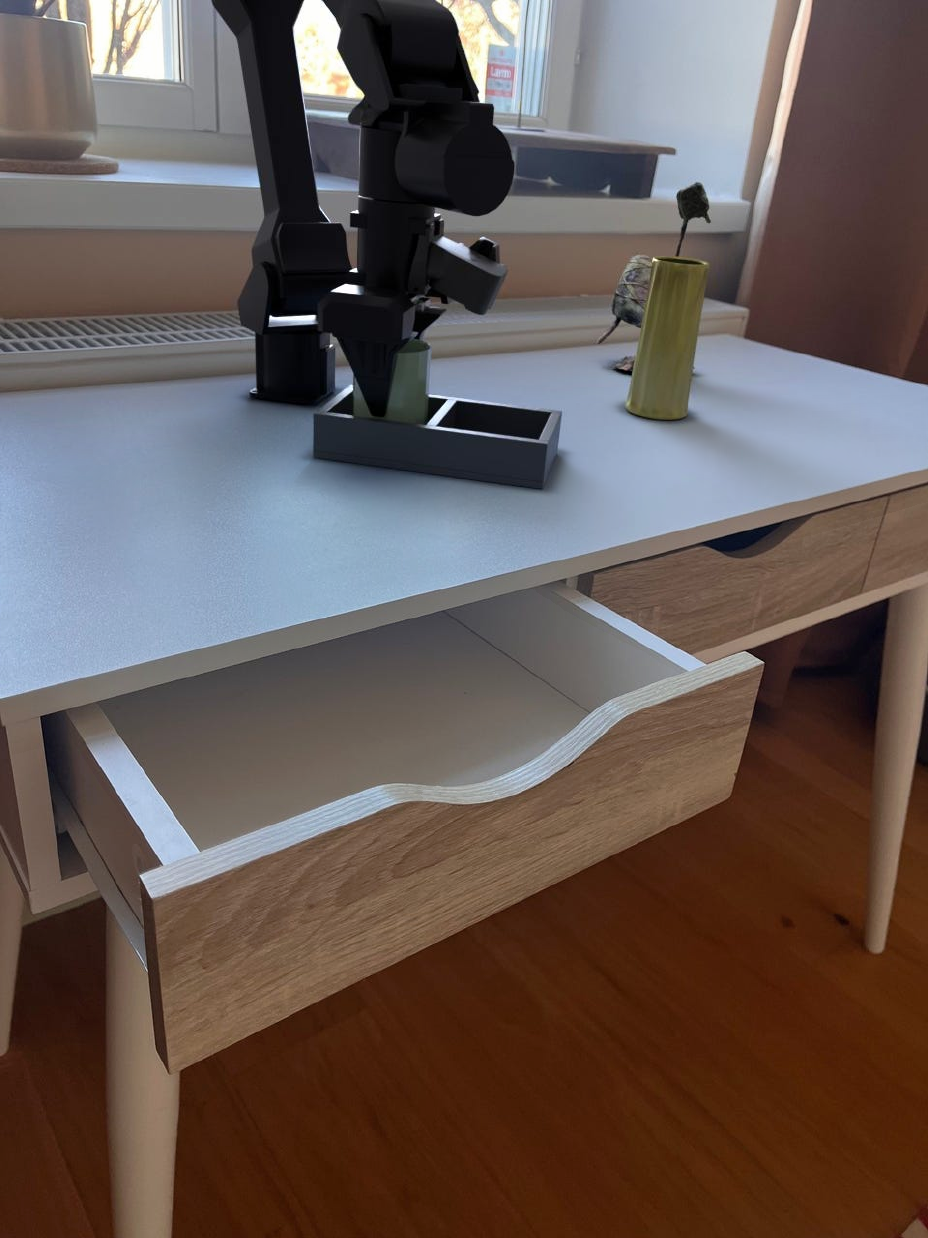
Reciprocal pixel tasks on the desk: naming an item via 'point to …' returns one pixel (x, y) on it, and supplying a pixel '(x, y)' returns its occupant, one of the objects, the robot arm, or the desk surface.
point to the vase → (668, 338)
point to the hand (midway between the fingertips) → (389, 405)
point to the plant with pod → (637, 272)
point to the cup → (404, 387)
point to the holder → (445, 439)
